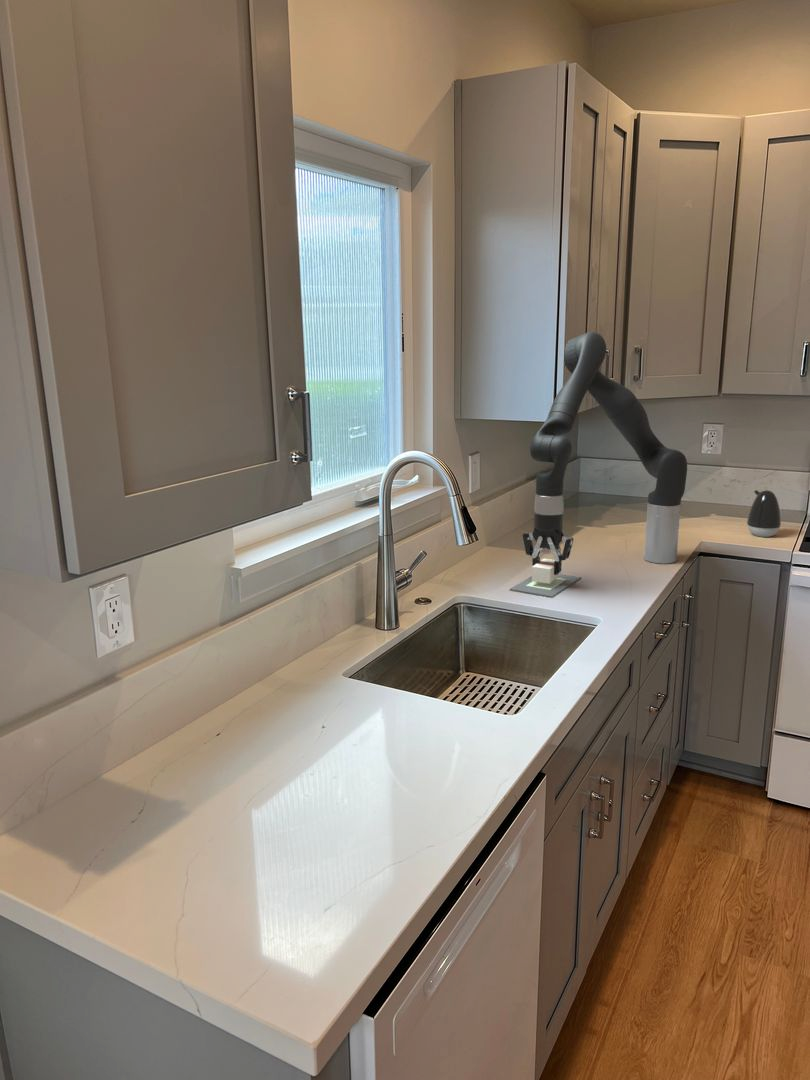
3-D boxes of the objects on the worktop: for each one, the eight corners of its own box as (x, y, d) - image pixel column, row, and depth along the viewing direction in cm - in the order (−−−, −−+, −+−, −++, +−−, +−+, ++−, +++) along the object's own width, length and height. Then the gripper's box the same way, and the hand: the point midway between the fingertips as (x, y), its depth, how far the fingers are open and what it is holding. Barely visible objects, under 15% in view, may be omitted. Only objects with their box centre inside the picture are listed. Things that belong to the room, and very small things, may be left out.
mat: (540, 571, 226) (540, 570, 226) (581, 578, 220) (581, 576, 220) (509, 590, 210) (509, 588, 210) (552, 597, 204) (552, 595, 204)
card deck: (531, 581, 212) (532, 566, 211) (543, 572, 220) (543, 558, 219) (549, 583, 210) (550, 568, 209) (560, 574, 217) (561, 560, 216)
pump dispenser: (763, 530, 271) (767, 486, 268) (786, 537, 262) (791, 492, 258) (738, 533, 268) (743, 488, 265) (761, 540, 259) (765, 494, 255)
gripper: (517, 510, 211) (516, 572, 215) (568, 516, 203) (566, 580, 207) (529, 505, 217) (528, 565, 221) (579, 511, 209) (577, 573, 213)
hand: (546, 572), depth 214 cm, fingers closed on card deck, 5 cm apart
